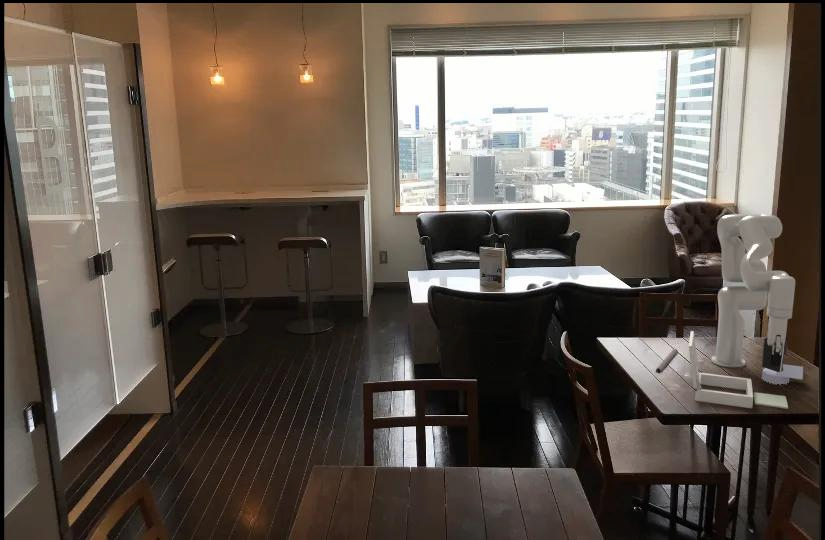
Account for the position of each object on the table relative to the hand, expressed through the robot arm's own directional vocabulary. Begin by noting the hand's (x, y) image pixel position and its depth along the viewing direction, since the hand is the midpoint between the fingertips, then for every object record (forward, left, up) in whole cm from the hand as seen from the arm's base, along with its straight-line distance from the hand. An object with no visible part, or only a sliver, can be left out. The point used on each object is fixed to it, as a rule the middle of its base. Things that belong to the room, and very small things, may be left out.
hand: (774, 361), depth 229 cm
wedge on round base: (-22, +5, -15) cm, 27 cm away
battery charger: (0, 0, -3) cm, 3 cm away
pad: (0, 0, -15) cm, 15 cm away
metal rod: (-28, -36, -15) cm, 48 cm away
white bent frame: (0, -17, -15) cm, 22 cm away
